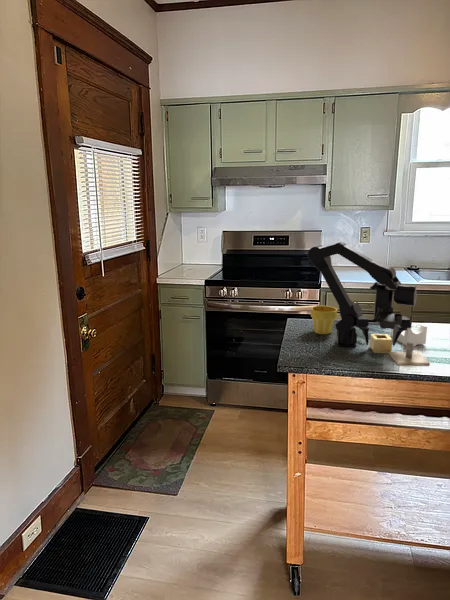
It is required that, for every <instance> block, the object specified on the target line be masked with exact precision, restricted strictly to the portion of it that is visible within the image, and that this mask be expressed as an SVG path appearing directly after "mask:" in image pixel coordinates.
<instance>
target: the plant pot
mask: <svg viewBox="0 0 450 600" xmlns="http://www.w3.org/2000/svg"><path fill="white" fill-rule="evenodd" d="M310 317H311V318H312V324H313V330H314V331H313V332H314V333H316V334H319V335H329V333H330V334H331V333H332V331H333V327H334V323H335V320H336V319H337V318H338V309H337V308H336V307H333V306H330V305H315V306H312V307H311V309H310Z"/></svg>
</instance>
